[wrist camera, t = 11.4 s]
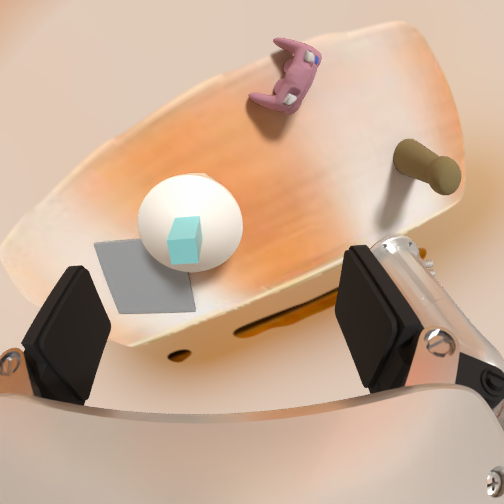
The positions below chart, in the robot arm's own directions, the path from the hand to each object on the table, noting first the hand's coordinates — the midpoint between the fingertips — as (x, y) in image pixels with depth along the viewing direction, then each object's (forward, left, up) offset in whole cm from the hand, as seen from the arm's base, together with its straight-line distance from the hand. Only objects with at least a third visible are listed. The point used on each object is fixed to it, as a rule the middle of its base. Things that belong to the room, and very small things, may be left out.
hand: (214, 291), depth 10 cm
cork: (-28, +2, -31) cm, 42 cm away
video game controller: (-8, -9, -31) cm, 33 cm away
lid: (+5, +9, -24) cm, 26 cm away
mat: (+15, +21, -30) cm, 40 cm away
